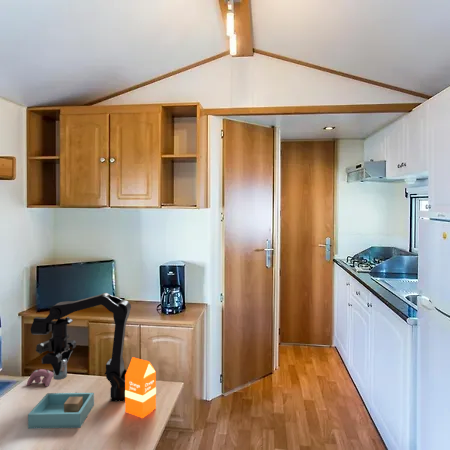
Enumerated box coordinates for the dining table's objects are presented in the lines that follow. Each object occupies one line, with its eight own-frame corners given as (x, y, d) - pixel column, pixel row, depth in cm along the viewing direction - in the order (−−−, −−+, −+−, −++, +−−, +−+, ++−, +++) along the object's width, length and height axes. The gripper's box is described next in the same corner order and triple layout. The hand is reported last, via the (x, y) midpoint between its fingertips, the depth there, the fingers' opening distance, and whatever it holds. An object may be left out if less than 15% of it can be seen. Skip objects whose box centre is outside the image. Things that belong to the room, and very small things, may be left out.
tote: (93, 405, 143) (93, 392, 143) (80, 427, 128) (80, 413, 128) (47, 405, 142) (47, 393, 142) (28, 428, 127) (28, 414, 127)
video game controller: (52, 387, 161) (55, 370, 164) (46, 386, 157) (50, 369, 160) (31, 385, 162) (35, 369, 165) (25, 385, 158) (29, 368, 161)
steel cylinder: (68, 374, 150) (68, 357, 150) (63, 379, 145) (63, 362, 145) (56, 374, 150) (56, 357, 150) (51, 379, 145) (50, 362, 145)
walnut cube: (82, 409, 138) (82, 396, 138) (77, 417, 133) (77, 403, 133) (69, 409, 138) (69, 396, 138) (64, 417, 133) (63, 403, 133)
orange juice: (142, 418, 134) (142, 365, 133) (124, 412, 138) (124, 360, 138) (156, 408, 141) (156, 357, 140) (138, 402, 145) (138, 353, 144)
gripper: (50, 326, 156) (50, 362, 157) (27, 342, 138) (28, 382, 138) (76, 326, 157) (76, 362, 157) (57, 342, 138) (57, 382, 138)
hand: (60, 372), depth 148 cm, fingers closed on steel cylinder, 5 cm apart
